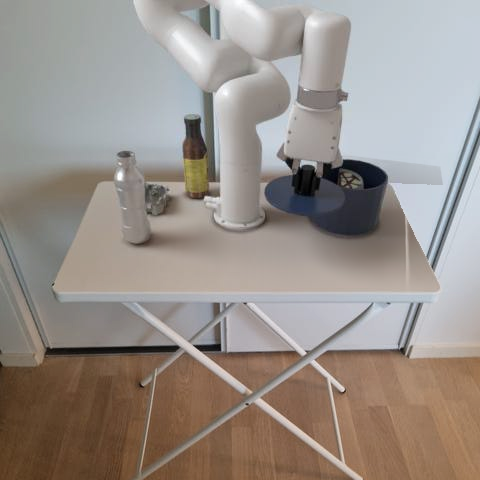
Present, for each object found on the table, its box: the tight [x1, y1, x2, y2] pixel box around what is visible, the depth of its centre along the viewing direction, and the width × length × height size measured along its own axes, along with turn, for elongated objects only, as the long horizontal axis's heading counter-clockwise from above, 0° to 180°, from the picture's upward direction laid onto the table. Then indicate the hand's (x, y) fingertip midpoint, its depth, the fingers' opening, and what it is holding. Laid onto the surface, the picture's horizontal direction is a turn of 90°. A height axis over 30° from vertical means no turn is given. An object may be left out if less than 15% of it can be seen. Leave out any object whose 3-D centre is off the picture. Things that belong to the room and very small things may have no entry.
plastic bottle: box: [113, 150, 152, 244], centre depth 99 cm, size 6×7×20 cm
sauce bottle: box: [181, 113, 210, 199], centre depth 116 cm, size 7×6×20 cm
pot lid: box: [263, 164, 345, 217], centre depth 94 cm, size 17×17×7 cm
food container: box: [337, 169, 364, 189], centre depth 111 cm, size 12×6×10 cm, turn 168°
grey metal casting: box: [145, 182, 170, 216], centre depth 117 cm, size 11×8×4 cm
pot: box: [310, 158, 389, 236], centre depth 111 cm, size 16×16×12 cm
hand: (304, 190), depth 95 cm, fingers closed on pot lid, 2 cm apart
